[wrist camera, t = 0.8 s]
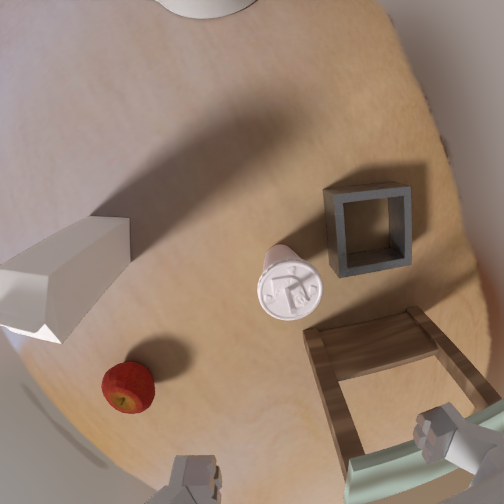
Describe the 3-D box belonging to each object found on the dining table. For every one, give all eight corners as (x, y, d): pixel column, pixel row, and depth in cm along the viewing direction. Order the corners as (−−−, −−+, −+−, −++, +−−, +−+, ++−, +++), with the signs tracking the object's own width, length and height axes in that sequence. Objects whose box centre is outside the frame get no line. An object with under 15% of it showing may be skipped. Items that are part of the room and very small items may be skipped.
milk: (131, 262, 39) (47, 369, 18) (90, 259, 38) (-8, 352, 17) (129, 216, 37) (26, 295, 16) (87, 214, 36) (-29, 283, 16)
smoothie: (275, 223, 38) (294, 264, 24) (315, 253, 39) (350, 305, 26) (243, 263, 39) (244, 322, 26) (283, 291, 41) (302, 357, 27)
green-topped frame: (296, 299, 41) (353, 471, 16) (422, 275, 41) (544, 384, 16) (300, 342, 43) (346, 508, 18) (419, 316, 43) (517, 433, 18)
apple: (151, 395, 46) (141, 430, 39) (107, 375, 45) (92, 407, 37) (166, 365, 44) (155, 401, 36) (118, 343, 43) (101, 375, 35)
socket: (322, 189, 37) (333, 194, 32) (393, 181, 36) (410, 186, 32) (329, 264, 40) (339, 278, 35) (395, 252, 39) (411, 264, 35)
